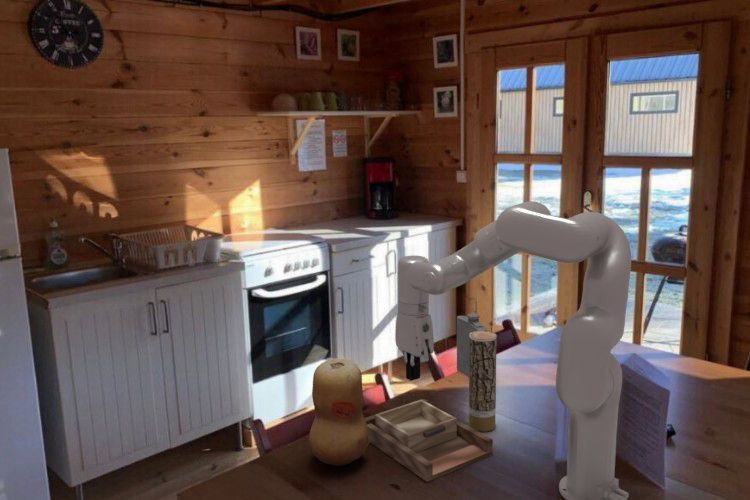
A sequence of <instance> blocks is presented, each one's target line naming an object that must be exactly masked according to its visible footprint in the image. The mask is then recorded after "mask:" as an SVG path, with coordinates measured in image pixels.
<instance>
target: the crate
mask: <svg viewBox="0 0 750 500" xmlns="http://www.w3.org/2000/svg"><path fill="white" fill-rule="evenodd" d="M374 415H375V426H376V427H378V428H379V429H381V430H382V431H384V432H385V433H387V434H388V435H390V436H391V437H393V438H394V439H396V440H397V441H399V442H400V443H402V444H404V445H405V446H407V447H408V448H410V449H411V450H413V451H414V452H419V451H422V450H424V449H427V448H429V447H432V446H435V445H437V444H440V443H443V442H445V441H448V440H450V439H453V438H456V437H457V420H458V419H457V417H455V416H453V415H451V414H449V413H447V412H445V411H444V410H442V409H440V408H438V407H436V406H435V405H432V404H431V403H429V402H428V403H427V402H425V401H423V400H422V399H418V400H415V401H412V402H409V403H407V404H402V405H401V406H397V407H394V408H391V409H387V410H385V411H382V412H379V413H376V414H374Z"/></svg>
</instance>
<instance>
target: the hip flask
mask: <svg viewBox="0 0 750 500" xmlns="http://www.w3.org/2000/svg"><path fill="white" fill-rule="evenodd" d="M475 331H488V328H487V327H486V326H485V325H483V324H482V323H480V314H478V313H468V314H467V316H466V315H457V316H456V371H458V372H459V371H460V373H461V374H463V375H465V376H466V377H468V378H469V336H470V335H469V334H470V333H472V332H475Z"/></svg>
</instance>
